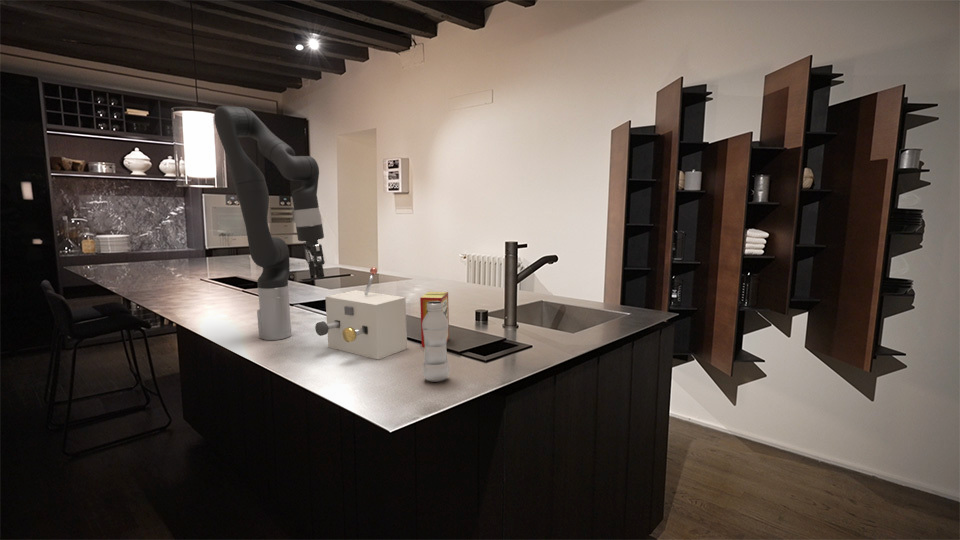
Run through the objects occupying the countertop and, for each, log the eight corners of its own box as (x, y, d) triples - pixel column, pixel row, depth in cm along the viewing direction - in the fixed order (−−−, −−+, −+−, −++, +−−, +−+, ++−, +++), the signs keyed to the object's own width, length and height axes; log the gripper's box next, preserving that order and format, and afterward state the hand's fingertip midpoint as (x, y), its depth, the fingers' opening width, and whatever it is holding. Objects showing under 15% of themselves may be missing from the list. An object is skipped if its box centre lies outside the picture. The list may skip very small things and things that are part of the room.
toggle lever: (360, 294, 146) (369, 266, 149) (365, 296, 148) (374, 268, 150) (365, 294, 145) (374, 266, 147) (370, 296, 147) (379, 269, 149)
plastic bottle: (423, 375, 125) (421, 300, 122) (449, 374, 125) (447, 299, 122) (422, 385, 118) (420, 305, 115) (449, 384, 119) (448, 305, 116)
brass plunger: (342, 341, 136) (342, 327, 135) (361, 335, 141) (361, 321, 141) (352, 343, 133) (351, 329, 133) (371, 337, 139) (370, 323, 138)
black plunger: (315, 334, 142) (314, 321, 142) (334, 329, 148) (334, 316, 147) (324, 336, 140) (323, 323, 139) (343, 331, 146) (342, 318, 145)
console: (326, 347, 149) (323, 297, 147) (358, 337, 160) (355, 290, 158) (376, 360, 137) (373, 305, 135) (407, 348, 148) (405, 297, 145)
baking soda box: (442, 348, 148) (441, 296, 146) (421, 347, 149) (420, 296, 147) (449, 339, 157) (448, 290, 155) (429, 338, 158) (428, 290, 156)
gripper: (291, 225, 149) (299, 276, 151) (300, 226, 136) (309, 282, 139) (316, 222, 152) (324, 272, 155) (327, 223, 140) (335, 277, 143)
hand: (317, 276), depth 147 cm, fingers open, 8 cm apart
